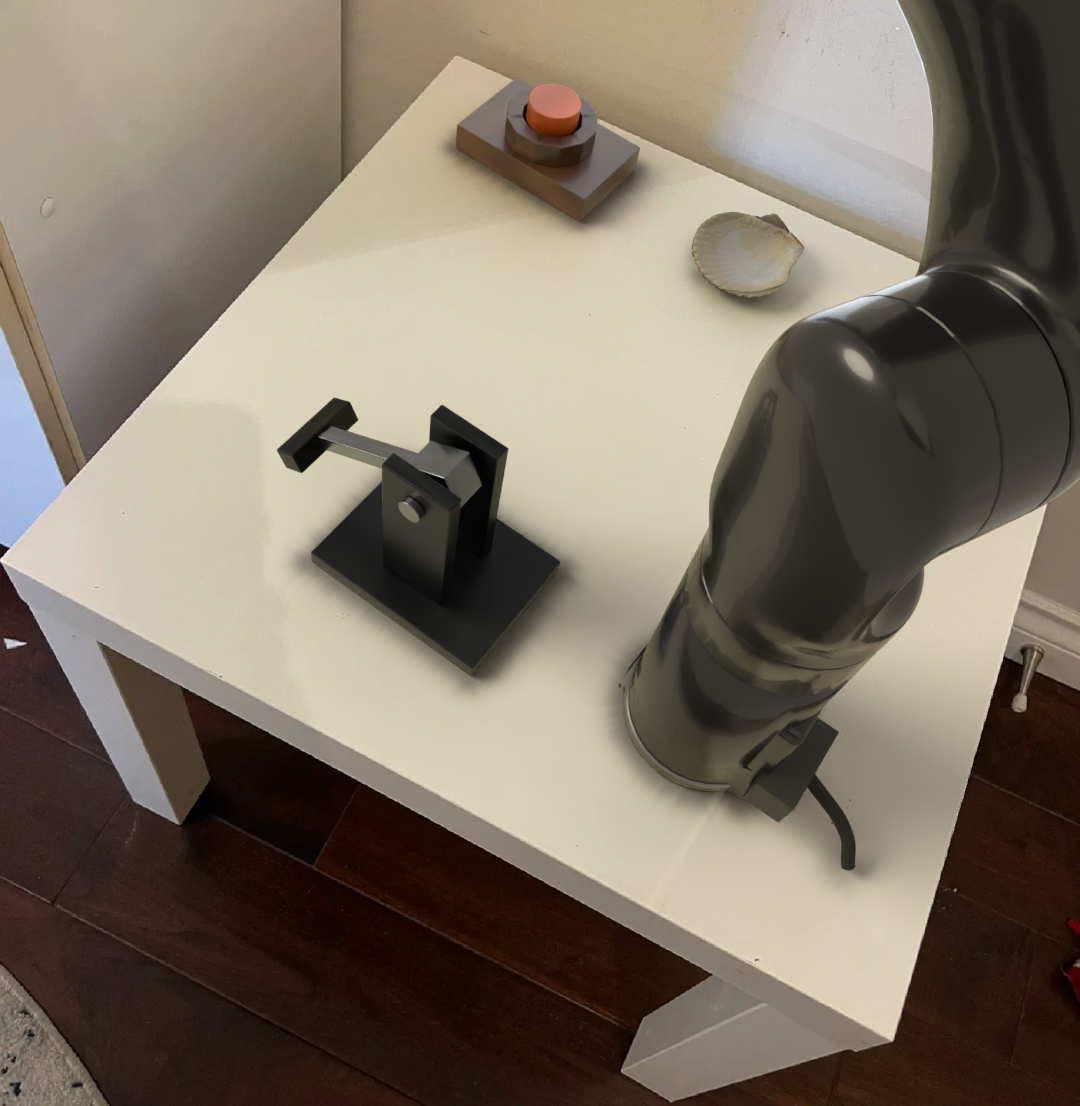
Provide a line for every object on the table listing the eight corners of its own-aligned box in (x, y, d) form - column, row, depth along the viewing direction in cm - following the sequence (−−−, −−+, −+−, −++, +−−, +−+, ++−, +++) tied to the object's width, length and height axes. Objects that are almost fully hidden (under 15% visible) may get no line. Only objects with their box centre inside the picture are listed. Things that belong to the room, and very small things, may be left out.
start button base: (635, 170, 83) (645, 127, 80) (579, 222, 80) (588, 180, 76) (514, 100, 86) (519, 56, 82) (455, 148, 82) (458, 104, 79)
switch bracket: (311, 561, 63) (296, 448, 52) (406, 466, 67) (409, 344, 57) (470, 676, 60) (487, 581, 50) (558, 570, 64) (590, 462, 54)
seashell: (674, 263, 81) (723, 319, 76) (673, 229, 79) (724, 285, 74) (767, 228, 82) (822, 282, 78) (769, 194, 80) (826, 247, 75)
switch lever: (289, 474, 60) (271, 443, 59) (346, 421, 63) (330, 389, 61) (441, 529, 54) (426, 496, 52) (498, 468, 56) (486, 434, 54)
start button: (587, 120, 80) (591, 100, 79) (558, 145, 78) (561, 126, 77) (545, 96, 81) (548, 76, 79) (515, 120, 79) (518, 101, 78)
